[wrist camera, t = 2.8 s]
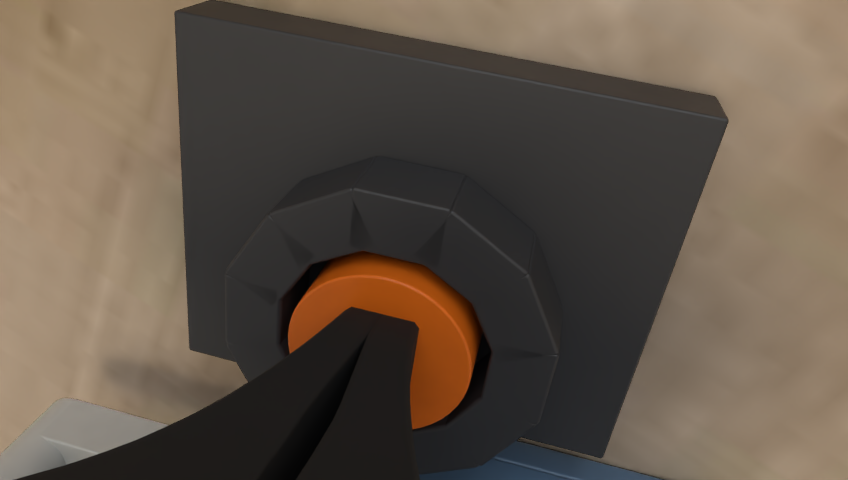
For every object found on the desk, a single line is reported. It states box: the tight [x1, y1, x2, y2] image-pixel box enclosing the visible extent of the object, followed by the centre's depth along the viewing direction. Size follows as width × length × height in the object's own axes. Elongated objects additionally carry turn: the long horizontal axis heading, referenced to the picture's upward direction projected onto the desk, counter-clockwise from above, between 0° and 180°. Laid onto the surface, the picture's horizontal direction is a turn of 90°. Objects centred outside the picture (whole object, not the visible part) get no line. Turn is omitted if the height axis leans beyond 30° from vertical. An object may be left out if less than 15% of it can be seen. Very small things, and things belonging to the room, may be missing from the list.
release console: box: [175, 0, 728, 475], centre depth 14 cm, size 8×10×3 cm
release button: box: [288, 251, 483, 429], centre depth 14 cm, size 4×4×2 cm
